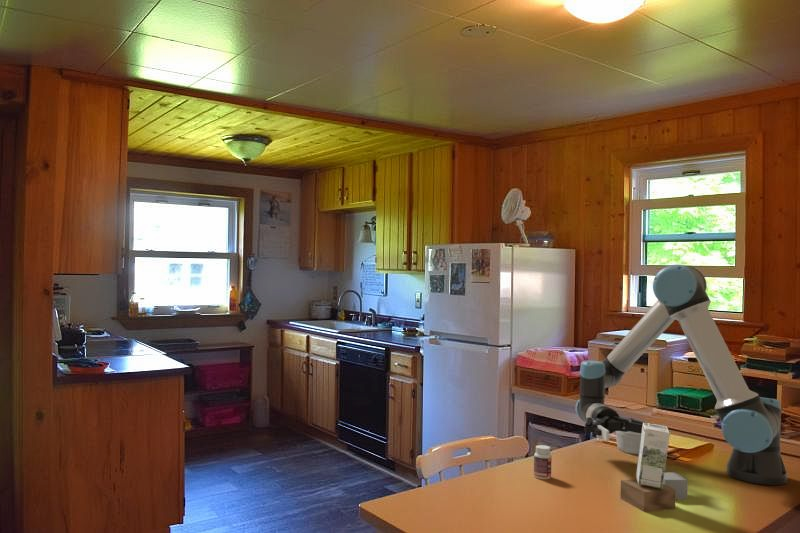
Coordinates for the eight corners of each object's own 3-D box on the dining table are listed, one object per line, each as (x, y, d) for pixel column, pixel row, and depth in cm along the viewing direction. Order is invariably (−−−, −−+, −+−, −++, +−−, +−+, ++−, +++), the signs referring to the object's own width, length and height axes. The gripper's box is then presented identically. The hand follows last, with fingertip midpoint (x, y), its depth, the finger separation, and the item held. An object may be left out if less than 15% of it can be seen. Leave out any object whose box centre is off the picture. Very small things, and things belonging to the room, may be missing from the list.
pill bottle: (551, 480, 171) (552, 449, 171) (533, 478, 172) (534, 448, 172) (550, 475, 175) (551, 445, 176) (533, 473, 176) (534, 444, 176)
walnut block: (650, 497, 160) (650, 478, 160) (675, 510, 152) (675, 489, 152) (620, 500, 158) (620, 480, 158) (643, 513, 149) (644, 492, 149)
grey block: (675, 491, 165) (675, 472, 165) (687, 499, 159) (687, 479, 159) (653, 491, 164) (653, 472, 165) (664, 499, 158) (665, 479, 159)
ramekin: (661, 450, 206) (661, 428, 206) (653, 459, 195) (654, 436, 195) (620, 443, 213) (620, 423, 213) (610, 451, 202) (610, 430, 202)
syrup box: (659, 481, 157) (666, 425, 156) (662, 490, 151) (670, 431, 150) (635, 476, 158) (642, 421, 157) (637, 485, 153) (645, 427, 152)
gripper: (644, 431, 186) (678, 451, 165) (561, 430, 185) (586, 450, 164) (644, 406, 186) (679, 423, 165) (562, 405, 185) (586, 421, 164)
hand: (633, 436), depth 164 cm, fingers open, 13 cm apart
